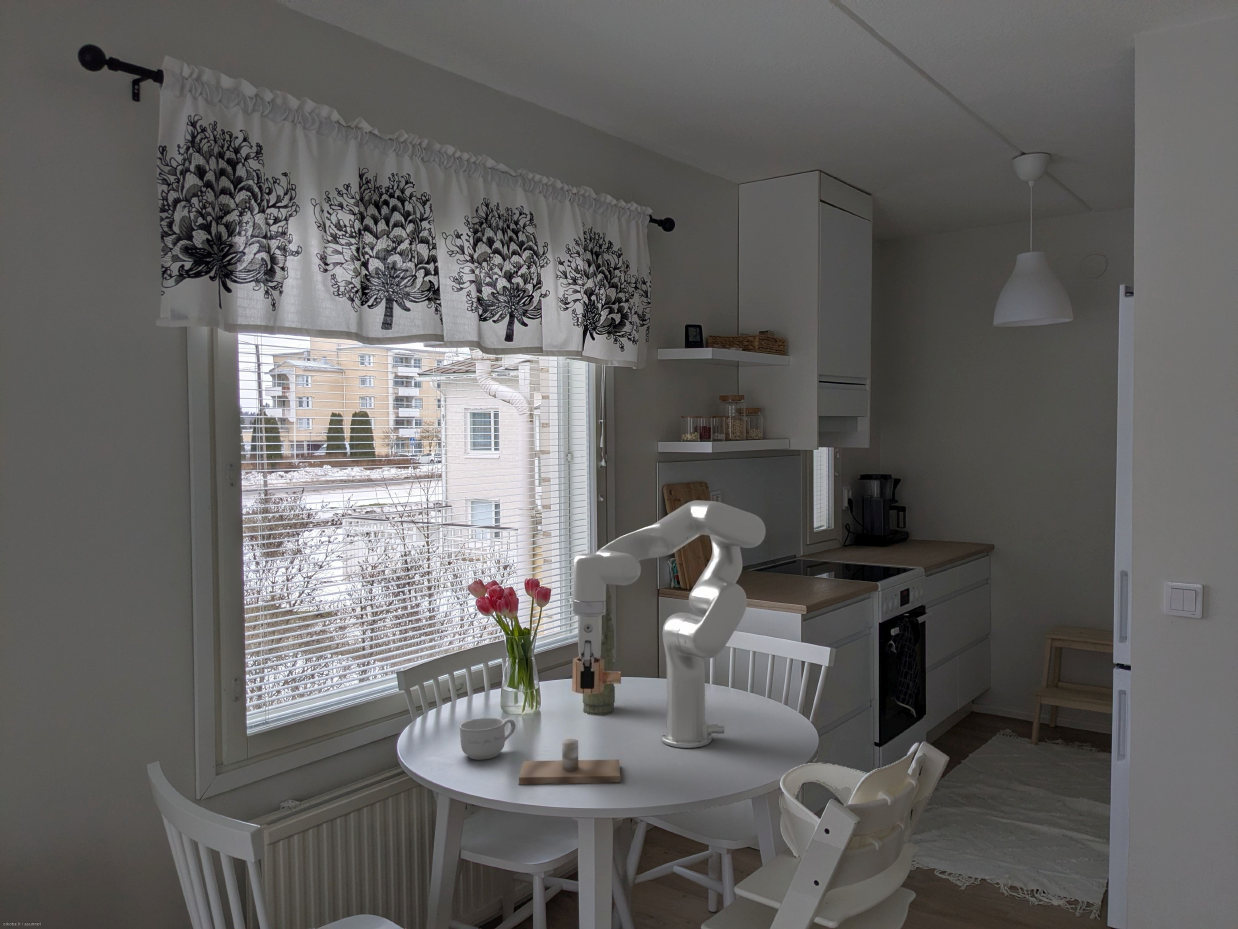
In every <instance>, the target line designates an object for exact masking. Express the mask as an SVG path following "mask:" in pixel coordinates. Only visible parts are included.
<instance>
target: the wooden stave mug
mask: <svg viewBox="0 0 1238 929" xmlns="http://www.w3.org/2000/svg"><path fill="white" fill-rule="evenodd" d="M584 657H585V656H584ZM590 657H592V656H590ZM581 666H582V659H580V658H579V656H576V657H574V658H572V675H571V676H572V684H571V687H572V688H571V689H572V690H571V691H572V692H574V693H576V694H581V695H583V694H596V693H600V692H603V690H604V683H606V684H614V685H621V684H622V671H621V670H620V671H619V670H617V671H615V670H614V671H604V659H603V658H599V659H597V658H595V657H594V670H593V671H595V678H594V689H581V688H580V671H581Z"/></svg>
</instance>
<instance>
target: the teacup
mask: <svg viewBox="0 0 1238 929" xmlns="http://www.w3.org/2000/svg"><path fill="white" fill-rule="evenodd" d="M508 723H509V724H510V729H508V731H507V733H506V732H505V728H506V726H507V724H508ZM515 730H516V722H515V720H514V719H512V718H510V717H509V718H504V719H502V718H500V717H499V718H498V717H491V716H490V717H478V718H472V719H469V720H465V721H464V722H462V723H460V724H459V733H460V734H459V736H460V746H461V751H462V752H463V754H464V755H466V756H467V757H469V758H470V759H472V760H477V761H478V760H479V761H480V760H481V761H483V760H489V759H493V758H496V757H497V756H498V755H499V753H501V751H502V750H503V749H504V748H505V745H506V744H505V743H506V742H507V740H508V739H509V738H511V736H512V735H513V734H514V733H515Z"/></svg>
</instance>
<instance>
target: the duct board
mask: <svg viewBox="0 0 1238 929" xmlns="http://www.w3.org/2000/svg"><path fill="white" fill-rule="evenodd" d="M561 758H562V759H561V760H559V759H558V760H523V761H522V764H521V769H520V771H519V774H518V775H519V776H518V785H546V784H545V783H569V784H609V782H620V783H621V771H620V770H621V769H620V759H579V740H578V739H576V738H566V739H563V740H562V741H561Z"/></svg>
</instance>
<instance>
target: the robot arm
mask: <svg viewBox="0 0 1238 929" xmlns="http://www.w3.org/2000/svg"><path fill="white" fill-rule="evenodd" d="M703 535H704V536H709V538H710V541H711V548H712V549H711V550H712V553H711V555H710V556H711V557H710V560H709V562H708V563H707V566H706V567H705V568H704V570H703V572H702V573H701V575H700V576H699V578H698V580H696V582H695V584H694V586H693V588H692V589H691V591H690V592H689V596H688V604H689V606H690V609H691V610H693V611H694V612H695V613H697V614H700V615H701V616H700V615H696V614H693V613H689V612H676V613H673V614H671V615H670V616H669V617H667V619H666V620H665V621H664V623H663V627H662V636H661V637H662V643H663V646H664V647H663V648H664V652H665V653H664V655H665V660H666V662H665V663H666V666H665V667H666V730H665V731H662V732H661V734H660V740H661V741H662V743H663V744H665V745H667V746H671V747H673V748H674V747H675V748H680V749H681V748H682V749H687V748H688V749H691V748H699V747H705V746H707V745H709V744H710V743H711V742H712V737H713V736H712V734H717V735H719V734H720V735H721V734H725V725H719V723H709V722H707V719H706V684H705V682H706V681H705V680H706V669H705V663H704V659H713V658H716V657H718V655H719V654H720V653H721V652H722V651H723V650H724V649H725V647H726V646H727V644H728V642H729V641H730V639H731V637H732V635H733V634H734V632H735V631H736V629H737V627H738V626H739V624H740V622H741V621H742V619H743V617H744V615H745V613H746V609H747V603H748V602H747V601H748V599H747V594H746V591H745V590H744V588H742V586H740V584H738V583H737V581H738V580H739V578H740V576H741V574H742V570H743V558H742V552H741V551H742V550H741V548H744V549H745V548H746V549H751V548H756V547H757V546H759V545H761V543H762V542H763V541H764V540H765V536H766V525H765V523H764V521H763V520H762V518H761V517H759V515H756V514H753V513H752V512H749V511H745V510H742V509H740V508H737V507H734V506H731V505H728V504H726V503H723V502H719V501H715V500H714V501H713V500H692V501H689V502H687V503H685V504H683V505H681V506H680V507H678V508H677V509H675V510H673V511H672V512H671V513H669V514H668V515H665V516H664V517H663V518H661V519H659V520H657V522H655V523H652V524H650V525H648V526H645V527H642V528H639V529H637V530H635V531H632V532H630V533H627V534H625V535H622V536H619V537H617V538H616V539H614V540H613V541H610V542H609V543H607V544H606V545H604V546H603V547H600V549H598V550H597V551H595V553H580V554H577V555H576V556H575V557H574V559H573V586H572V587H573V588H572V589H573V591H572V592H573V594H572V597H573V598H572V599H573V600H572V601H573V603H572V614H573V615H575V616H577V644H578V647H577V649H578V657H579V658H580V659H582V666H581V671H580V688H581V689H594V678H595V671H593V670H594V657H595V658H597V659H599V658H600V655H601V616H602V615H605V606H606V586H608V585H613V586H614V585H615V586H616V585H617V586H628V585H631V584H633V583H635V582H636V581H637V580H638V579H639V577H640V576H641V573H642V572H641V571H642V566H641V563H640V561H643V560H649V559H655V558H656V559H657V558H661V557H666V556H669V555H672V554H674V553H675V552H676V551H679V549H681V548H682V547H684V546H685V545H687V544H689V543H691V541H693V540H695V539H696V538H698V537H700V536H703ZM584 656H585V657H584ZM590 656H592V657H590Z"/></svg>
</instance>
